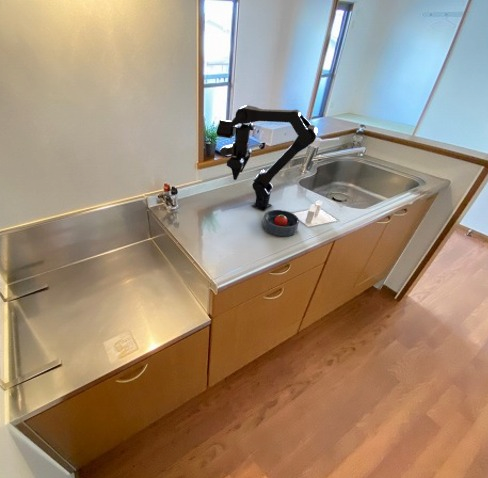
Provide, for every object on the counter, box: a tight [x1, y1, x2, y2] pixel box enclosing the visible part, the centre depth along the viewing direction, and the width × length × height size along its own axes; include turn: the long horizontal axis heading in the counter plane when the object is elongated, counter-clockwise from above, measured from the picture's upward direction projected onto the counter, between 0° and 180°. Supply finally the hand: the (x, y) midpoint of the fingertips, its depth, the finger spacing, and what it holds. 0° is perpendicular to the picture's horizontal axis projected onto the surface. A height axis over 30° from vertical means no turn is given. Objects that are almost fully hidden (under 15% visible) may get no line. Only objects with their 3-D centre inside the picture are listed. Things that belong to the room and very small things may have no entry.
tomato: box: [274, 214, 287, 227], centre depth 107 cm, size 5×5×5 cm
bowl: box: [262, 209, 300, 237], centre depth 108 cm, size 13×13×4 cm
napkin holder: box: [292, 199, 338, 228], centre depth 114 cm, size 15×11×6 cm
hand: (237, 175), depth 121 cm, fingers open, 9 cm apart
